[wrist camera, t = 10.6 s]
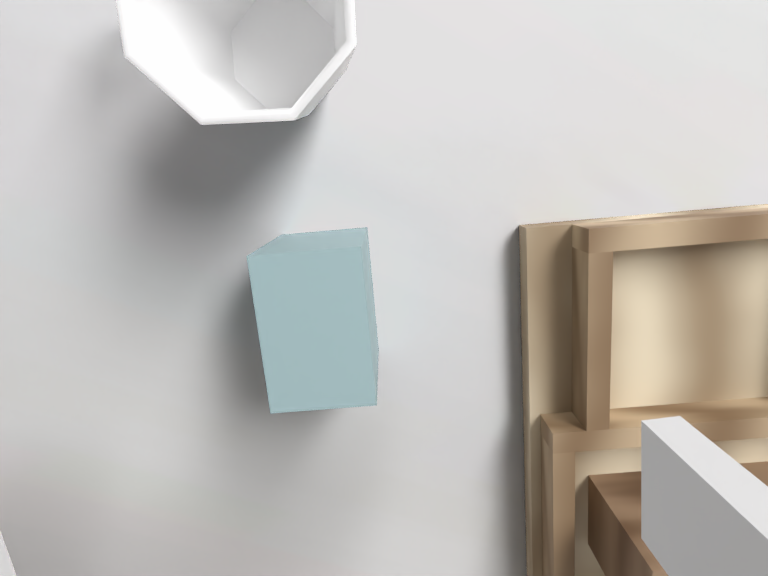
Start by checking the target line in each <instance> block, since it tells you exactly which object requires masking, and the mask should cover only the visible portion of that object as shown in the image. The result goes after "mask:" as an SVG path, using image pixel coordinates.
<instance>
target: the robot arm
mask: <svg viewBox="0 0 768 576" xmlns="http://www.w3.org/2000/svg"><path fill="white" fill-rule="evenodd" d="M641 539H642V540H643V541H644V543H645V544H646V545H647V547H648V548H649V550H650V551H651V552H652V554H653V555H654V556H655V558H656V559H657V561H658V562H659V563H660V565H661V566H662V568H663V569H664V570H665V572H666V573H667V574H668V576H768V486H766V485H765V484H764V483H763V482H762V481H760V480H759V479H758V478H757V477H755V476H754V475H753V474H752V473H750V472H749V471H748V470H747V469H745V468H744V467H743V466H742V465H740V464H739V463H738V462H737V461H735V460H734V459H733V458H732V457H730V456H729V455H728V454H727V453H725V452H724V451H723V450H722V449H721V448H719V447H718V446H717V445H716V444H714V443H713V442H712V441H711V440H709V439H708V438H707V437H706V436H704V435H703V434H702V433H701V432H699V431H698V430H697V429H696V428H694V427H693V426H692V425H691V424H689V423H688V422H687V421H686V420H685V419H683V418H682V417H681V416H675V417H667V418H658V419H650V420H642V421H641ZM0 576H17V575H16V573H15V570H14V567H13V564H12V561H11V559H10V556H9V553H8V550H7V548H6V545H5V542H4V539H3V537H2V534H1V531H0Z"/></svg>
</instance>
